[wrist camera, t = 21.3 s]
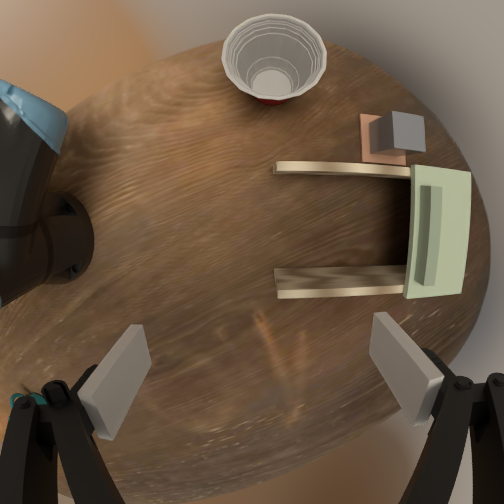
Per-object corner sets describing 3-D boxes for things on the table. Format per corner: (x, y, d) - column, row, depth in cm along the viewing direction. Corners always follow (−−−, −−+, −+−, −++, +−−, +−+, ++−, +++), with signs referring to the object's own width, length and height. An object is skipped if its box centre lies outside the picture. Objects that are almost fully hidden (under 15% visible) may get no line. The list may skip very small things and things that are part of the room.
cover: (403, 295, 32) (415, 306, 29) (410, 165, 29) (425, 163, 26) (456, 290, 32) (470, 299, 29) (466, 172, 29) (482, 172, 25)
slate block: (370, 153, 37) (394, 147, 29) (368, 123, 36) (392, 110, 28) (397, 156, 37) (425, 152, 29) (396, 126, 36) (423, 116, 28)
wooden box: (273, 275, 42) (277, 298, 33) (272, 166, 39) (276, 161, 30) (422, 270, 41) (453, 288, 32) (428, 174, 38) (462, 174, 29)
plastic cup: (217, 74, 36) (202, 36, 24) (285, 45, 34) (293, 1, 23) (253, 136, 38) (251, 116, 26) (323, 104, 36) (346, 75, 25)
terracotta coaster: (361, 162, 38) (362, 161, 37) (358, 114, 37) (360, 113, 36) (403, 165, 38) (405, 165, 37) (401, 120, 36) (403, 119, 36)
